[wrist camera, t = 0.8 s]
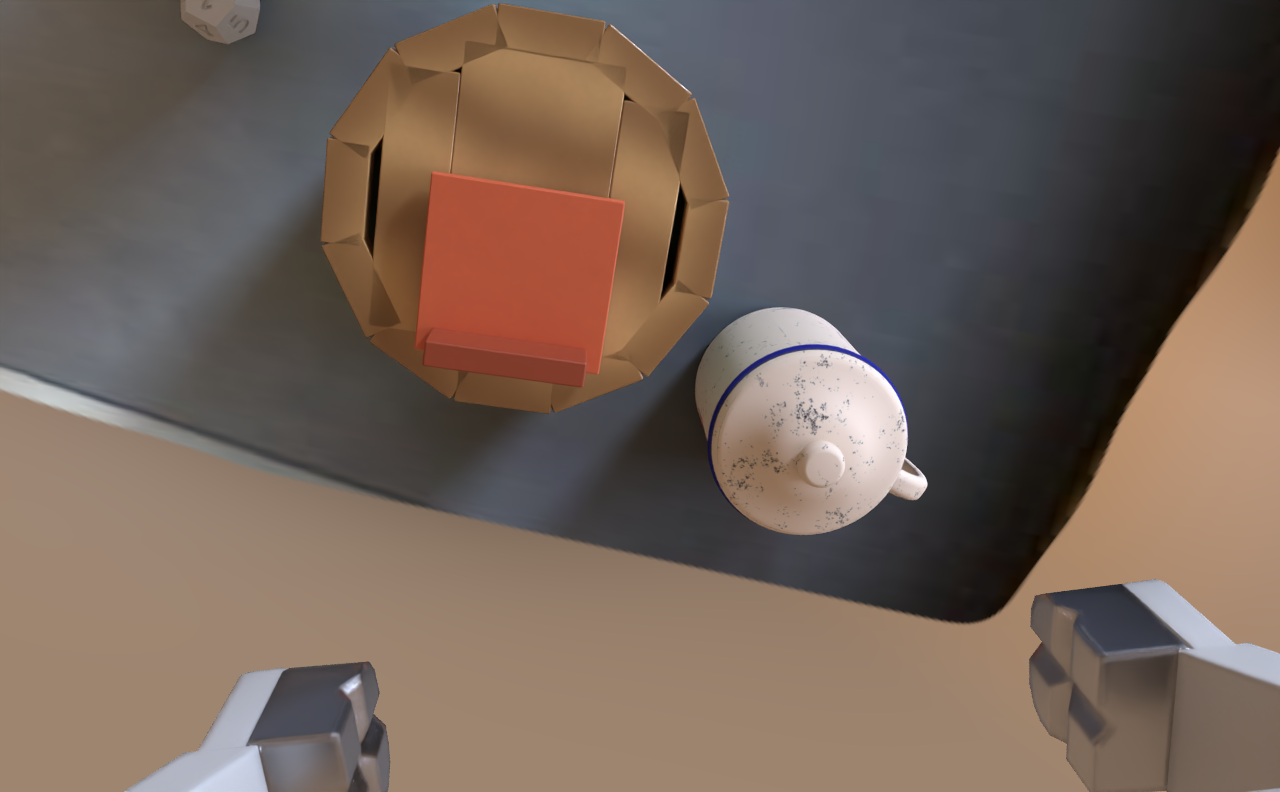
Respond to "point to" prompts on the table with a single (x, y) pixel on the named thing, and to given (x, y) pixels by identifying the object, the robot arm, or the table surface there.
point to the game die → (221, 18)
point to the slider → (516, 279)
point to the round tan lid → (526, 180)
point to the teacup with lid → (801, 424)
